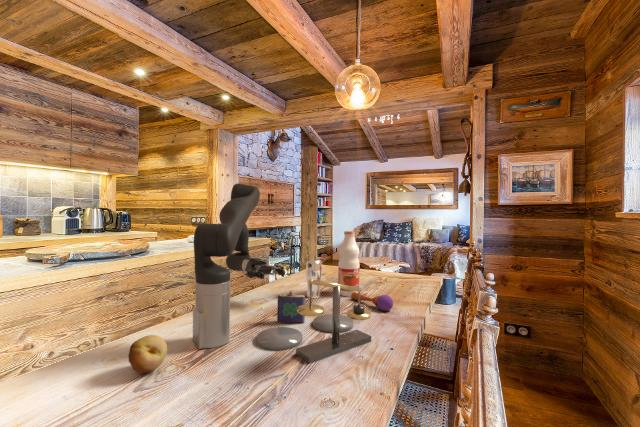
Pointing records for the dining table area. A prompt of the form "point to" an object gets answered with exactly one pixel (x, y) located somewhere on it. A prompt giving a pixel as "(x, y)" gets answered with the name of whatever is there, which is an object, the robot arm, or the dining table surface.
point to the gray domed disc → (279, 338)
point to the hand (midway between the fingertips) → (273, 274)
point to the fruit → (147, 353)
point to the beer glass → (313, 277)
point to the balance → (333, 326)
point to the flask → (290, 308)
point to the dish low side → (325, 323)
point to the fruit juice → (348, 263)
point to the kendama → (376, 300)
